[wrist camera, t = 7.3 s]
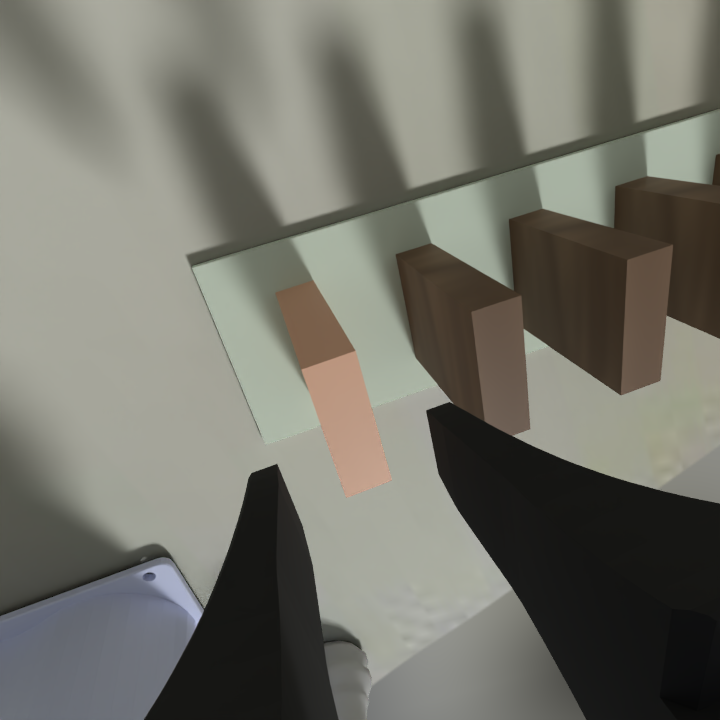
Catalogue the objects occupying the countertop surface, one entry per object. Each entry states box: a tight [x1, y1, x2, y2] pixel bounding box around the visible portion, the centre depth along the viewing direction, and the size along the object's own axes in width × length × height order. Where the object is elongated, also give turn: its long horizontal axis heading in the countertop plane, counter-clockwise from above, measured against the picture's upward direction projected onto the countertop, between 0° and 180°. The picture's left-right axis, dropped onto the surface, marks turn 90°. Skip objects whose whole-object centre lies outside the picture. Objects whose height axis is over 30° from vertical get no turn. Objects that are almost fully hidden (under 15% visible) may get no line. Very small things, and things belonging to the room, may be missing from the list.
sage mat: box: [192, 109, 720, 445], centre depth 19 cm, size 24×8×1 cm, turn 103°
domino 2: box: [509, 209, 673, 395], centre depth 17 cm, size 1×4×6 cm, turn 12°
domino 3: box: [614, 176, 720, 338], centre depth 17 cm, size 1×4×6 cm, turn 13°
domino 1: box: [396, 243, 530, 436], centre depth 16 cm, size 1×4×6 cm, turn 13°
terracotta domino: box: [275, 280, 392, 498], centre depth 15 cm, size 1×4×6 cm, turn 14°
